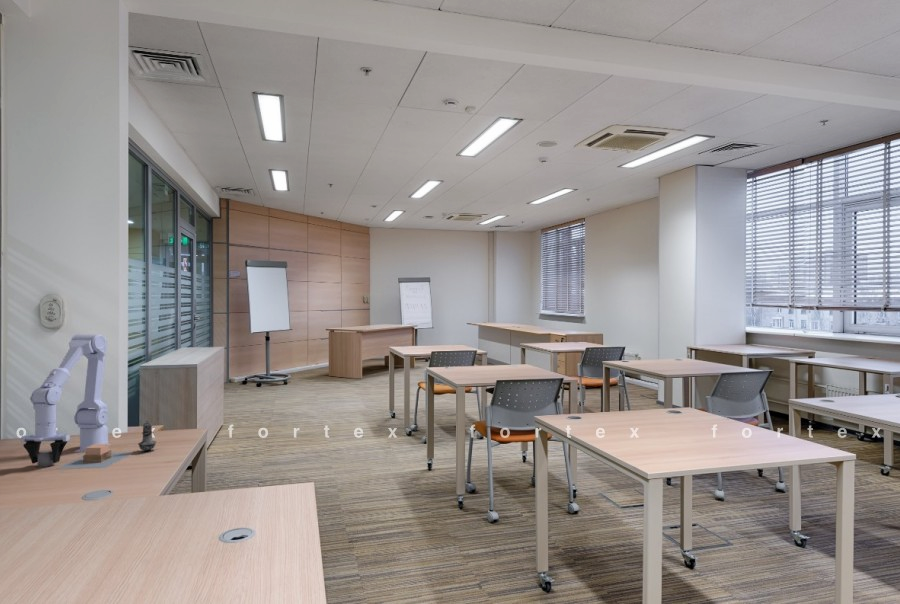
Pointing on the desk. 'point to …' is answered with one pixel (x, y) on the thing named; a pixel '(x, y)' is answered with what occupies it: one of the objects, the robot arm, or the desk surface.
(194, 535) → the desk surface
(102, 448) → the tower middle
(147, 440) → the salt shaker
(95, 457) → the tower base
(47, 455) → the dark grey cylinder
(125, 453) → the mat
